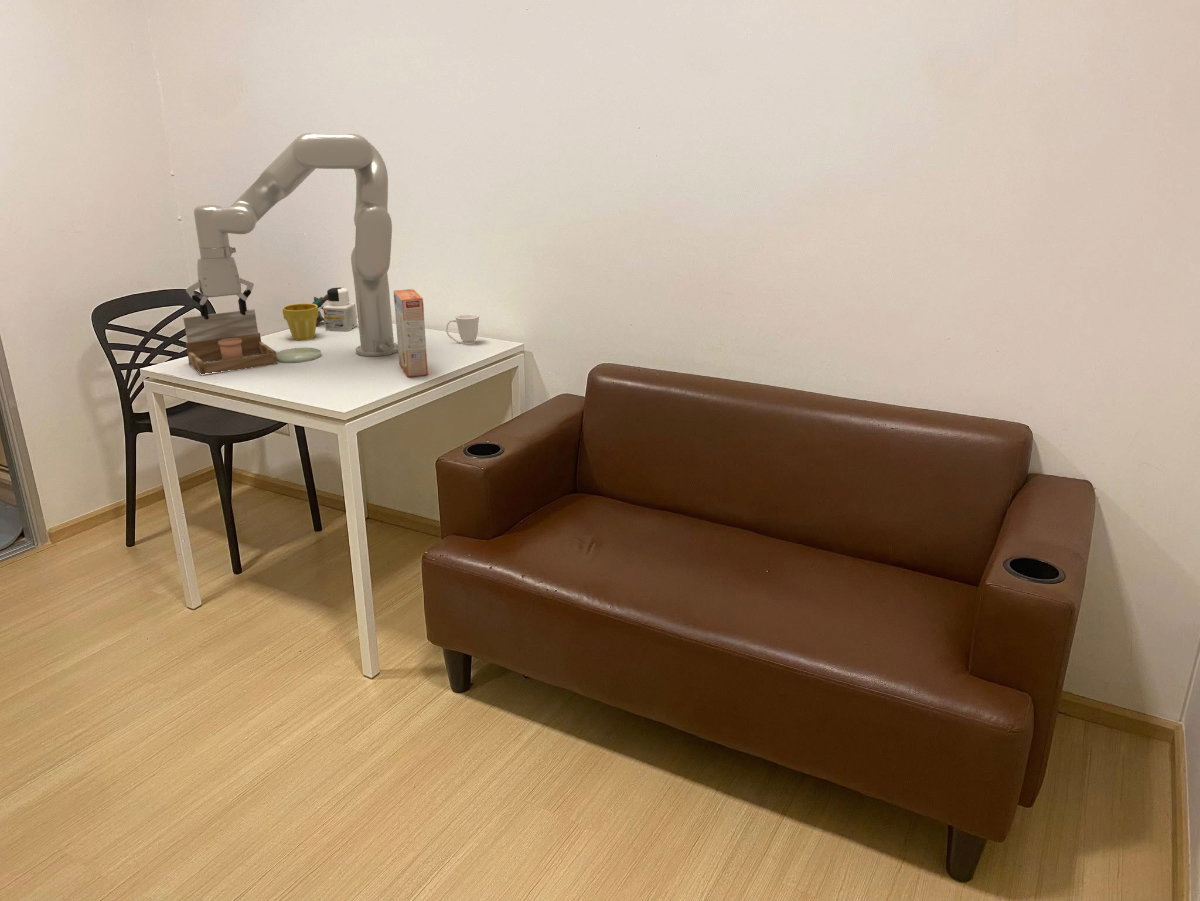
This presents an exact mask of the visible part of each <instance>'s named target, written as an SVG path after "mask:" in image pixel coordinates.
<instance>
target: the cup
mask: <svg viewBox="0 0 1200 901" xmlns="http://www.w3.org/2000/svg"><path fill="white" fill-rule="evenodd" d="M479 320H480V315H477V314H470V313H465V314H458V315H457V316H455V319H451V320H449V321H448V322H447V325H446V334H447V336H448V337H449V338H450V339H451V340H453V341H454V342H456V343H459V344H463V345H475V344H476V343H477V341H476V339H477V336H478V332H479V322H480V321H479ZM452 322H453V323H456V325H457V329H458V330H457V331H458V334H459V337H460V339H461V341H460V340H458V339H456V338H454V337H452V336H451V335H450V334H449V331H448V328H449V325H450V323H452Z"/></svg>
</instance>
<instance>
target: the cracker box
mask: <svg viewBox="0 0 1200 901" xmlns="http://www.w3.org/2000/svg"><path fill="white" fill-rule="evenodd" d="M423 298H424V297H422V296H421V295H420V294H419V293H418V292H417V291H416V290H415V289H413V288H411V289H397V290H396V289H395V290H393V301H394V302H393V303H394V311H395V312H394V314H395V326H396V336H397V337H396V338H397V340H396V341H397V344H398V362H399V363H398V364H399V366H400V368H401V369H402V371H403V372H404V374H405V376H407V377H408V378H409V377H421V376H428V375H429V369H428V355H427V354H428V352H427V341H426V338H427V336H426V327H425V326H426V325H425V313H424V312H425V310H424V309H425V308H424V299H423Z"/></svg>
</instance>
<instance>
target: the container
mask: <svg viewBox="0 0 1200 901" xmlns="http://www.w3.org/2000/svg"><path fill="white" fill-rule="evenodd" d="M326 292H327V293H326V295H328V300H327V303H328V304H327V305H324V307H323V306H322V307H323V309H322V312H323V318H324V320H325V322H324V325H325V326H324V327H325V331H327V330H330V331H329V332H331V331H333V332H334V331H335V332H350V331H351V330H352V328H353V329H354V327H355V326H356V327H358V315H357V306H356V302H350V295H349V293H350V292H349V289H347V288H346V287H331V288H329V289H328V290H327V291H326ZM356 327H355V328H356Z"/></svg>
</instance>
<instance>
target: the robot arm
mask: <svg viewBox="0 0 1200 901" xmlns="http://www.w3.org/2000/svg"><path fill="white" fill-rule="evenodd" d="M376 148H377V147H375V146H374V145H373V144H372V143H370V142H369V141H368V140H367V138H365V137H363V136H362V135H360V134H356V133H349V134H318V133H316V134H315V133H310V132H306V133H302V134H300V135H299V136H297V137H296V138H295V139H294V140H293V141H292V142H291V143H290V144H289V145H288V146H287V147H286V148H285V149H284V150H283V151H282V152H281V153H280V154H279V155H278V156H277V158H275V159H274V160H273V161H271V162H272V163H270V164H269V165H268V166H267V167H266V168H265V169H264V170H263V171H262V172H261V174H259V177H258V178H257V179H256V180H255V181H254V182H253V183H252V185H251V186H249V187H248V189H246V190H245V191H244V192H243V193H242V194H241V195H240V197H239V198H237V199H236V200H235V201H234V202H233V203H232V204H231V205H230V206H224V207H222V206H220V205H216V204H215V205H212V204H211V205H210V204H208V205H198V206H196V207H195V208H194V210H193V216H194V221H195V228H196V235H197V242H198V248H199V255H200V258H197V264H196V265H197V281H196V282H195V283H194V284H192V285H190V286H188V287H186V289H185V292H186V293H187V294H188V295H189V297H190V298H191V299H192V300H193V301H195V303H197V304H199V310H200V316H203V317H204V319H206V320H207V319H209V316H208V315H209V311H208V305H207V304H206V302H207V301H208V299H209V298H214V297H227V296H237V297H238V298H239V299H238V300H237V302H238V309H239V310H238V311H240V314H242V315H246V314H245V311H247V310H248V308H247V302H246V301H247V300H248V298H249V296H250V295H251V293H252V291H253V288H254V286H255V285H254V283H253V282H251V281H249V280H246V279H244V278H241V277H240V274H239V272H238V267H237V264H236V261H235V258H234V257H233V256H232V255H233V253H234V254H235V253H236V252H237V249H236V247H232V246H231V245H230V238H229V234H233V235H248V234H250V233H251V232H253V231H254V229H255V228H256V224H257V223H258V222H259V221H260V220H261V219H262V218H263V217H265V215H266V214H267V213H268V212H269V211H270V210H271V209H272V208H273V207H274V206H275V205H276V204H278V203H279V202H280V201H282V200H284V199H286V198H287V197H289V196H290V195H291V194H292V193H293V192H295V190H296V189H297V188H298V187H299V186H301V184H302V183H303V182H304V181H305V180H306V179H307V178H309V176H310V175H311V174H312V173H314V171H315V170H316V169H324V170H325V169H326V170H331V169H332V170H353V171H354V174H355V179H356V181H355V182H356V183H355V184H356V185H355V187H356V188H355V191H356V192H355V195H356V196H355V208H354V217H353V221H354V226H355V238H354V239H355V240H354V242H355V244H354V247H353V249H352V251H351V254H350V261H351V262H350V263H351V264H350V265H351V271H352V277H353V284H354V295H355V306H356V316H357V325H358V330H359V331H358V332H359V339H360V340H359V341H360V345H358V346H356V348H355V353H356V354H357V355H360V356H365V357H381V356H382V357H383V356H388V355H392V354H396V353H397V352H398V343H395V340H394V330H393V318H392V307H391V305H392V304H391V298H390V297H391V295H390V294H391V293H390V284H389V274H388V271H389V269H390V267H391V266H390V265H391V252H392V250H391V249H392V235H393V234H392V233H393V222H392V218H391V215H390V213H389V210H388V204H389V203H388V202H389V201H388V200H389V196H388V195H389V178H388V169H387V167H386V164H385V163H386V162H385V161H384V159H383V157H382V155H381V153H380V152H379V151H378V150H377V149H376ZM242 284H243V285H245V286H246V289H245V290H244V291H243V292H242ZM196 290H198V291H199V293H200V294H201V295H200V296H199V297H198V296H197V295H196V294H195V291H196Z"/></svg>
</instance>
